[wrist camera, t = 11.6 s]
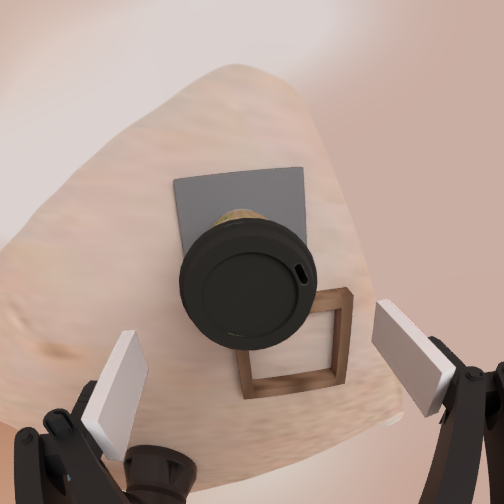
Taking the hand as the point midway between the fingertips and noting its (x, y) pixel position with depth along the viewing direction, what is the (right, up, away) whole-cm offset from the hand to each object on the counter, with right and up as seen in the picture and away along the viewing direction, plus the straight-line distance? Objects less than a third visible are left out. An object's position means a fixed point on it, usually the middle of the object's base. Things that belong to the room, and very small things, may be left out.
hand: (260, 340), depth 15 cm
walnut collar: (+5, -8, +25) cm, 26 cm away
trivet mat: (-1, +7, +19) cm, 21 cm away
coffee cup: (-2, +6, +18) cm, 20 cm away
